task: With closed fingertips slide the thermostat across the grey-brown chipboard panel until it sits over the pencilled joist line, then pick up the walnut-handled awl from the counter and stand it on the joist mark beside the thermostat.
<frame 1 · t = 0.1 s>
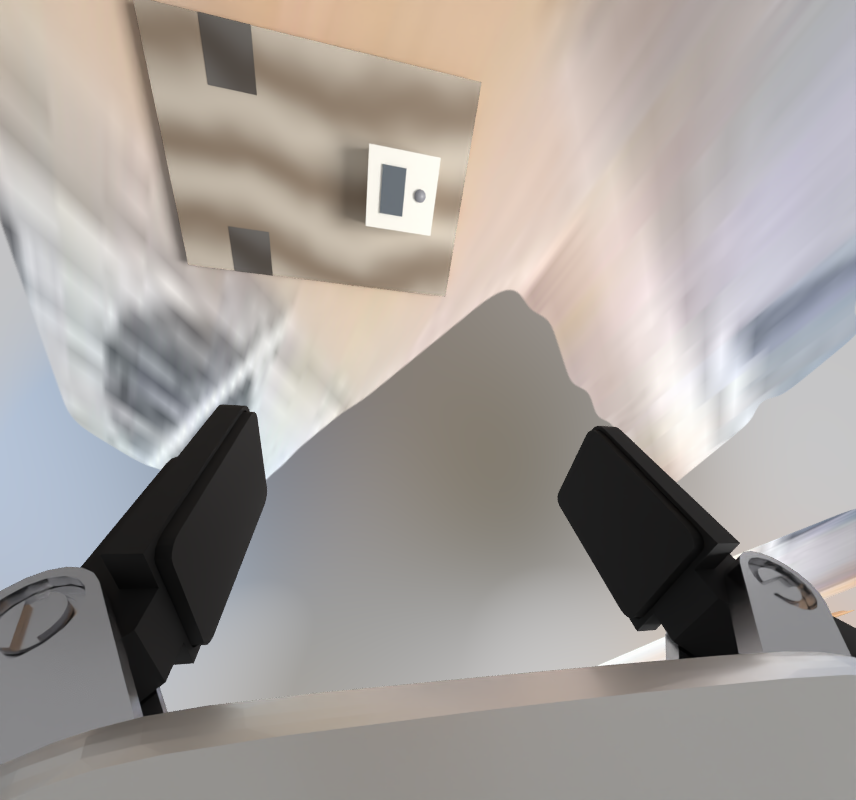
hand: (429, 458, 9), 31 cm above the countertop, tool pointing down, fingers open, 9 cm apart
subfloor panel: (326, 180, 31), on the countertop
thermostat: (400, 193, 31), point 1 cm above the countertop, touching subfloor panel
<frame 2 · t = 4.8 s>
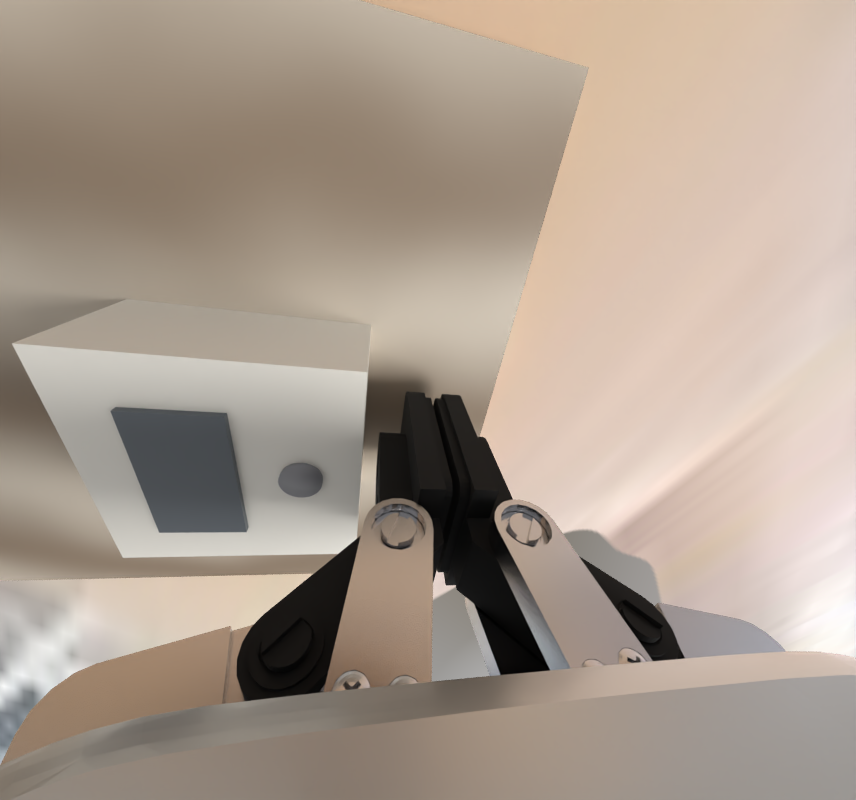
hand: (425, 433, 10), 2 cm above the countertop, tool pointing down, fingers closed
subfloor panel: (73, 368, 10), on the countertop
thermostat: (267, 407, 10), point 1 cm above the countertop, touching gripper, subfloor panel
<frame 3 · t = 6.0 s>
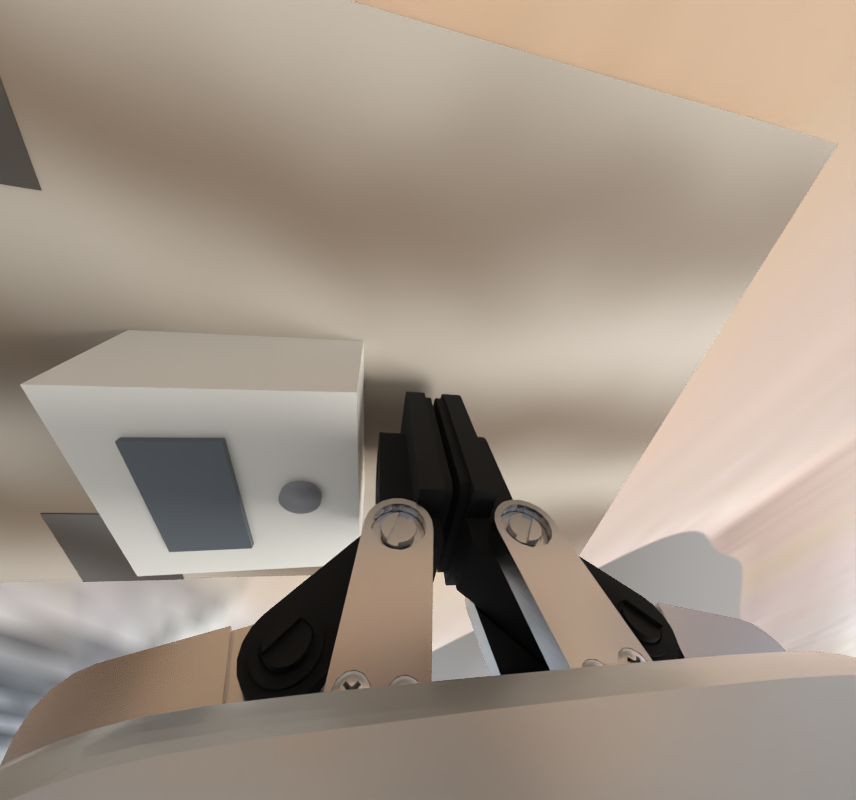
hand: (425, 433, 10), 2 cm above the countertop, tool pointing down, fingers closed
subfloor panel: (314, 389, 11), on the countertop
thermostat: (268, 425, 10), point 1 cm above the countertop, touching gripper, subfloor panel
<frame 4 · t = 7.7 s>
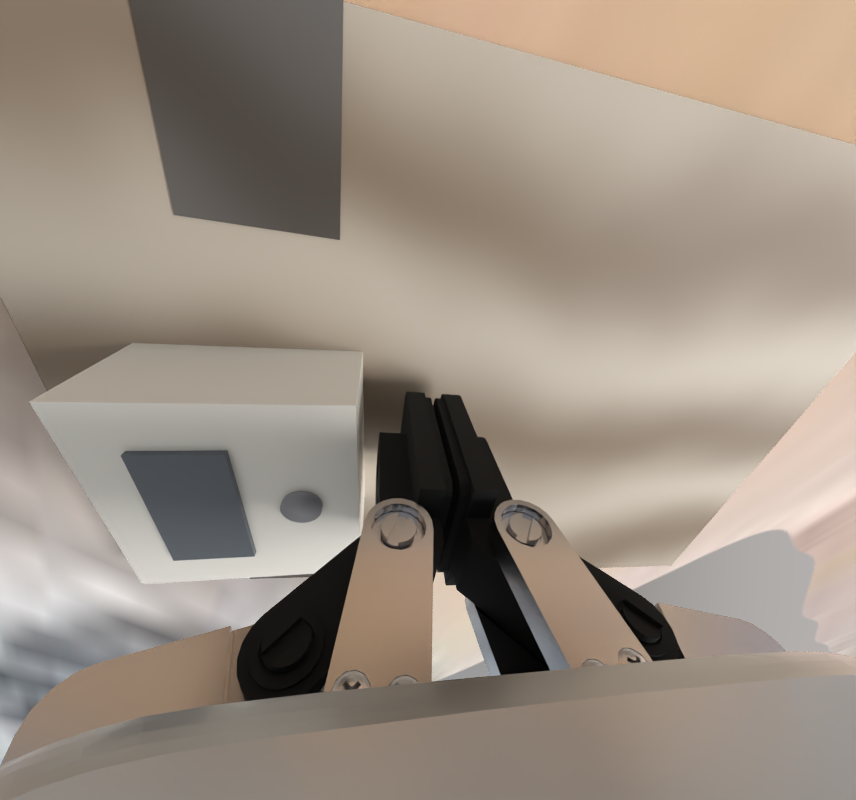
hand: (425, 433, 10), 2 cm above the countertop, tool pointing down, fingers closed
subfloor panel: (481, 402, 12), on the countertop
thermostat: (270, 433, 11), point 1 cm above the countertop, touching gripper, subfloor panel
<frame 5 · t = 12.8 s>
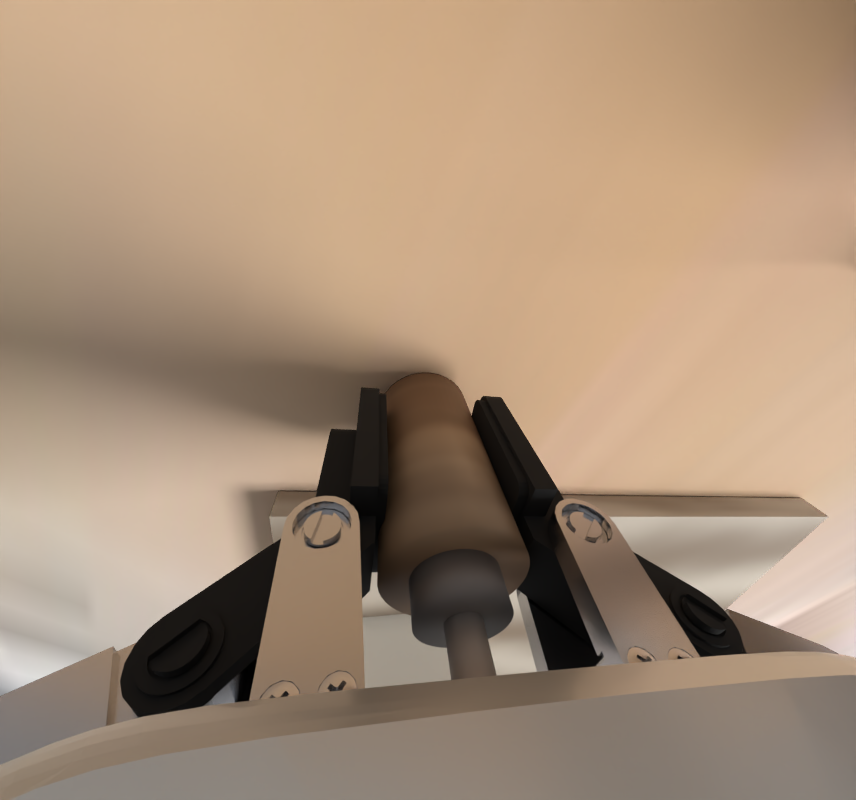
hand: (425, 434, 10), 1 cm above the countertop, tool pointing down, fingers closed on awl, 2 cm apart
awl: (423, 411, 11), on the countertop, touching gripper
subfloor panel: (523, 603, 19), on the countertop
thermostat: (398, 643, 18), point 1 cm above the countertop, touching subfloor panel
when the fingers open (4 cm above the countertop, at t = 16.8 s): awl drops 2 cm, resting on subfloor panel.
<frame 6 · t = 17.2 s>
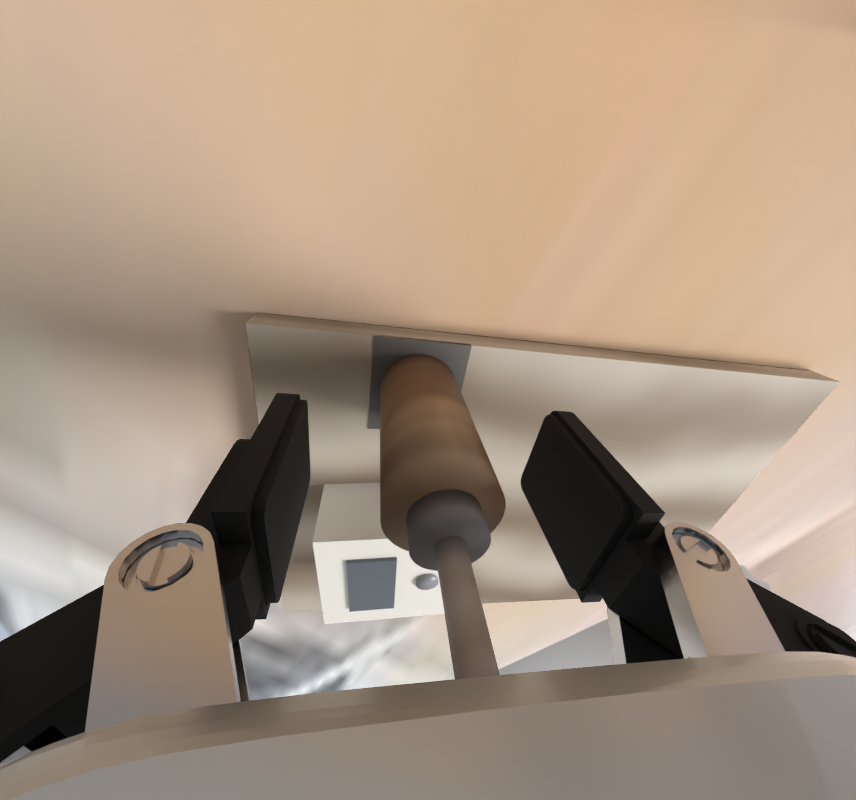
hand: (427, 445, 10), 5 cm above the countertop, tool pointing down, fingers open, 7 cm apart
awl: (418, 389, 13), point 1 cm above the countertop, touching subfloor panel
subfloor panel: (520, 494, 19), on the countertop
thermostat: (389, 524, 17), point 1 cm above the countertop, touching subfloor panel
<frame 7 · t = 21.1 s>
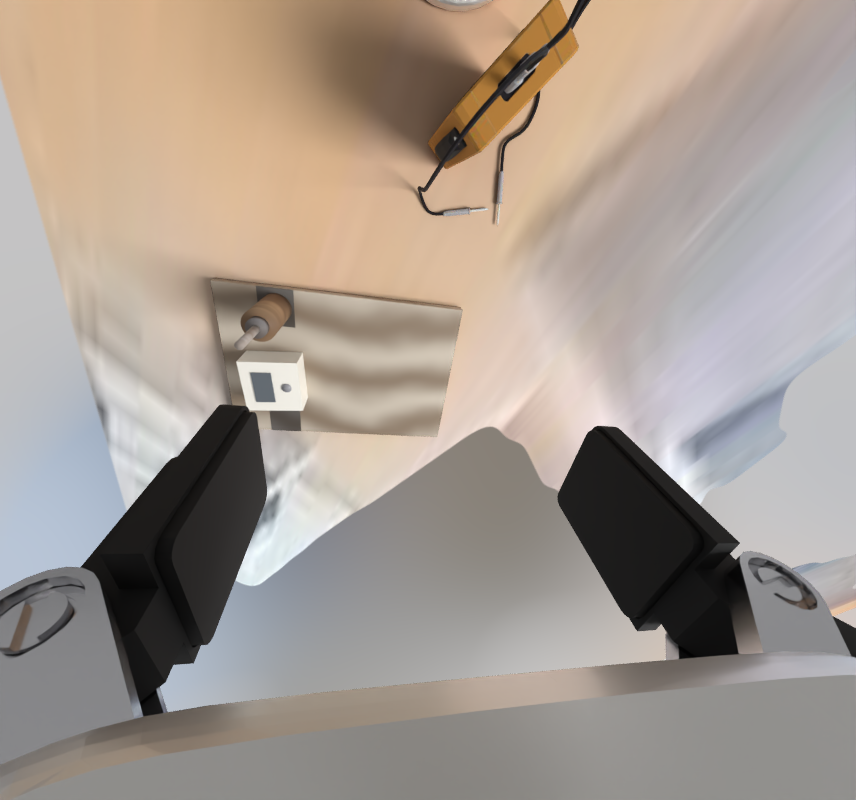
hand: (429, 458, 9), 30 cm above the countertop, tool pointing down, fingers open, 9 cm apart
awl: (276, 307, 34), point 1 cm above the countertop, touching subfloor panel
subfloor panel: (344, 368, 40), on the countertop
thermostat: (278, 375, 38), point 1 cm above the countertop, touching subfloor panel
multimeter: (488, 161, 31), on the countertop
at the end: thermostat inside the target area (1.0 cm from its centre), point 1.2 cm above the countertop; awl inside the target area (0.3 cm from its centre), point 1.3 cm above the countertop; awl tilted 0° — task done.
